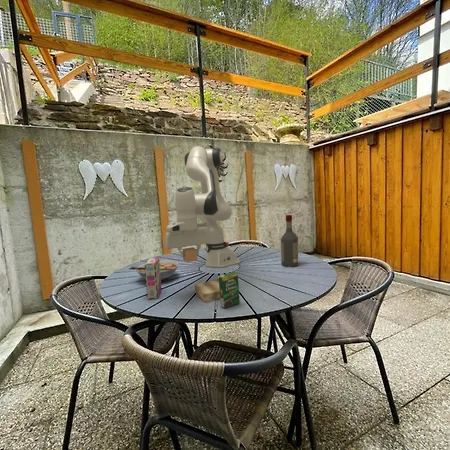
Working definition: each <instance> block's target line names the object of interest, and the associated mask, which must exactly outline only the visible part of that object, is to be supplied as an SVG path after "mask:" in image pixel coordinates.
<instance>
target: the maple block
mask: <svg viewBox="0 0 450 450" xmlns="http://www.w3.org/2000/svg"><path fill="white" fill-rule="evenodd" d="M194 293H195V294H196V295H197V296H198V297H199V299H200V300H202V302H203V303H208V302H213V301H217V300H220V289H219V279H216V280H215V279H214V280H210V281H204V282H200V283H195V284H194Z"/></svg>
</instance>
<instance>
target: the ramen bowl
mask: <svg viewBox="0 0 450 450" xmlns="http://www.w3.org/2000/svg"><path fill="white" fill-rule="evenodd" d="M159 263H160V276H161V281H164V280H166V279H167V278H170V277H171V276H173V275H174V274H175V272H176V271H177V269H178V267H179V265H180V264H179V262H178V261H176V260H170V259H169V260H168V259H167V260H159ZM128 269H129V270H136V272H137V274H139V276H141V277H142V278H144V279H145V280H146V274H145V263H143V264H140V265H138V266H137V267H136V266H131V267H130V268H128Z"/></svg>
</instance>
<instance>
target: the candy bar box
mask: <svg viewBox="0 0 450 450" xmlns="http://www.w3.org/2000/svg"><path fill="white" fill-rule="evenodd" d="M159 261H160V257H151V258H150V257H149V258H148V260H147V261H146V262H145V263H144V264H145V274H146V279H145V284H146V297H147V300H156V299H159V296H160V294H161V292H162V280H161V276H160V263H159Z"/></svg>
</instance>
